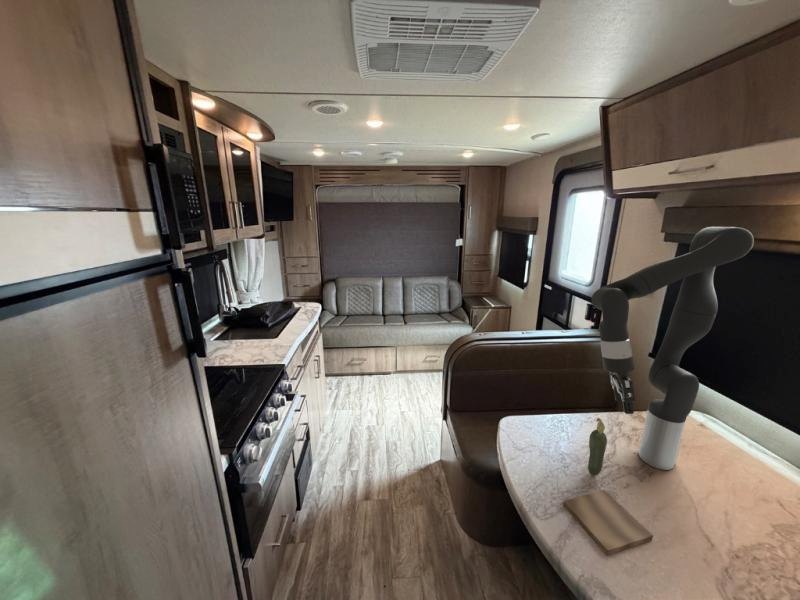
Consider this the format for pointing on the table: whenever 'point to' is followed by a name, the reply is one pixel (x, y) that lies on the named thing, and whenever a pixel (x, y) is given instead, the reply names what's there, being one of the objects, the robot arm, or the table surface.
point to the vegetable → (597, 448)
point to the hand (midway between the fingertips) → (624, 407)
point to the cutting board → (607, 522)
